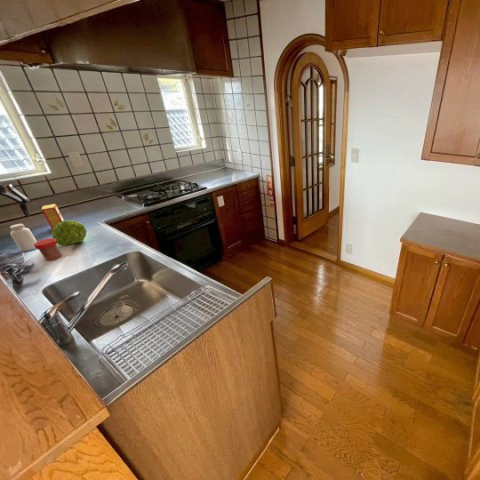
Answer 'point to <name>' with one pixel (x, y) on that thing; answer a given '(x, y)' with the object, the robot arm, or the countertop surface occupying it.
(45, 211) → the baking soda box
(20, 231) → the pill bottle
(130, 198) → the countertop surface
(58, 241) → the lettuce
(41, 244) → the cap
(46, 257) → the jar
